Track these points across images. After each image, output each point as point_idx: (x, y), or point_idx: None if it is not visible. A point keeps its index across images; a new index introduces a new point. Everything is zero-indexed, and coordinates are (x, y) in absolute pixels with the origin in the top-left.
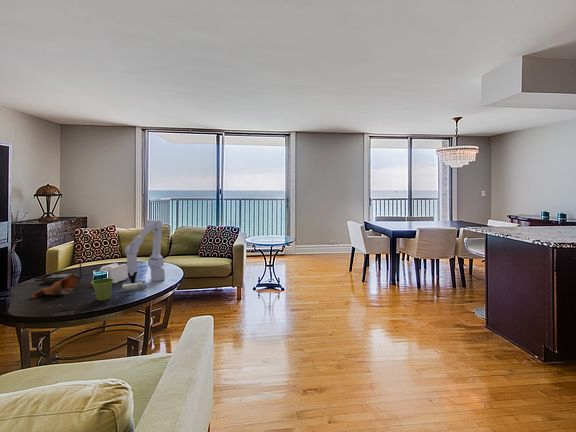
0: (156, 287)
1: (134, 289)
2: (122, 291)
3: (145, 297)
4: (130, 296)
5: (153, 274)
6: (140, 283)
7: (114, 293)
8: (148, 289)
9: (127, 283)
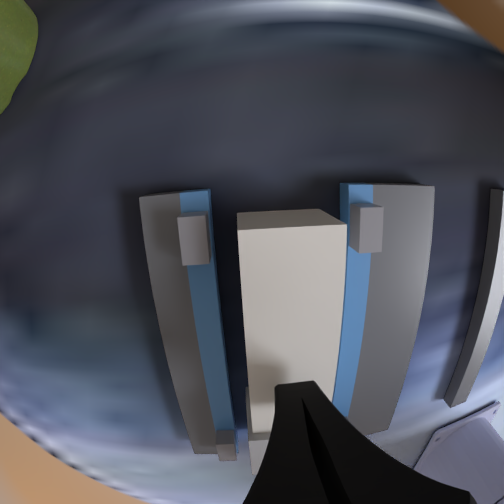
0: (242, 491)
1: (172, 379)
2: (147, 223)
3: (10, 417)
4: (6, 329)
5: (459, 481)
6: (255, 465)
7: (125, 110)
8: (198, 461)
9: (495, 244)
